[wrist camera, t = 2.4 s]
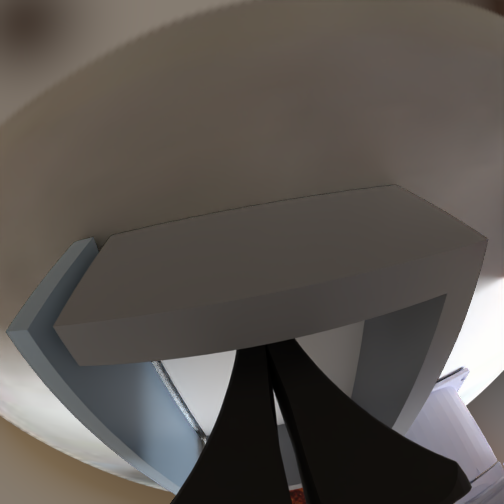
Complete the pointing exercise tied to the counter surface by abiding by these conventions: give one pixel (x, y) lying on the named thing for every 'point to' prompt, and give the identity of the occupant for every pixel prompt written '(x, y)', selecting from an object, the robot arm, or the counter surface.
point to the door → (105, 383)
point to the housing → (286, 298)
